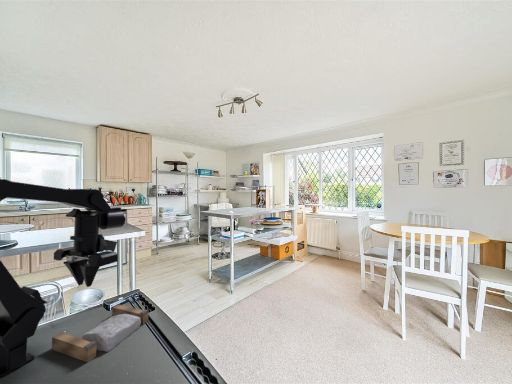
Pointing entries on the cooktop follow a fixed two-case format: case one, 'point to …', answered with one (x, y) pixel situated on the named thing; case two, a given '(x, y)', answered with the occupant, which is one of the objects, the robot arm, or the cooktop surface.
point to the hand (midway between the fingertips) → (84, 285)
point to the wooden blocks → (88, 349)
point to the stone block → (113, 331)
